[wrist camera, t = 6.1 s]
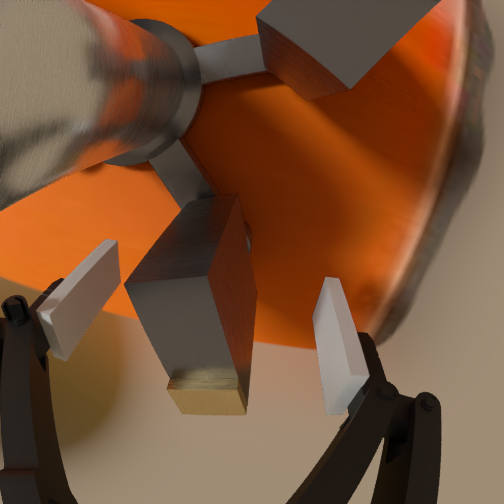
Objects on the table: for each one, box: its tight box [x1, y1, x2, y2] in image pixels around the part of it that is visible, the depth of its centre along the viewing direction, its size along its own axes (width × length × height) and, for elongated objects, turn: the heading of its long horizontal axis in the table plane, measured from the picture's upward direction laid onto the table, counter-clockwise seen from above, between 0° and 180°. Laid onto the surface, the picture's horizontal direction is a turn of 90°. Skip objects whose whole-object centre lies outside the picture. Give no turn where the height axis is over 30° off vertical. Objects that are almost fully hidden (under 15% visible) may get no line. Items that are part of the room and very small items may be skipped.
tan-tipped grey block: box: [124, 193, 257, 415], centre depth 15 cm, size 7×3×12 cm, turn 10°
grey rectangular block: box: [256, 0, 441, 101], centre depth 9 cm, size 7×3×12 cm, turn 141°
